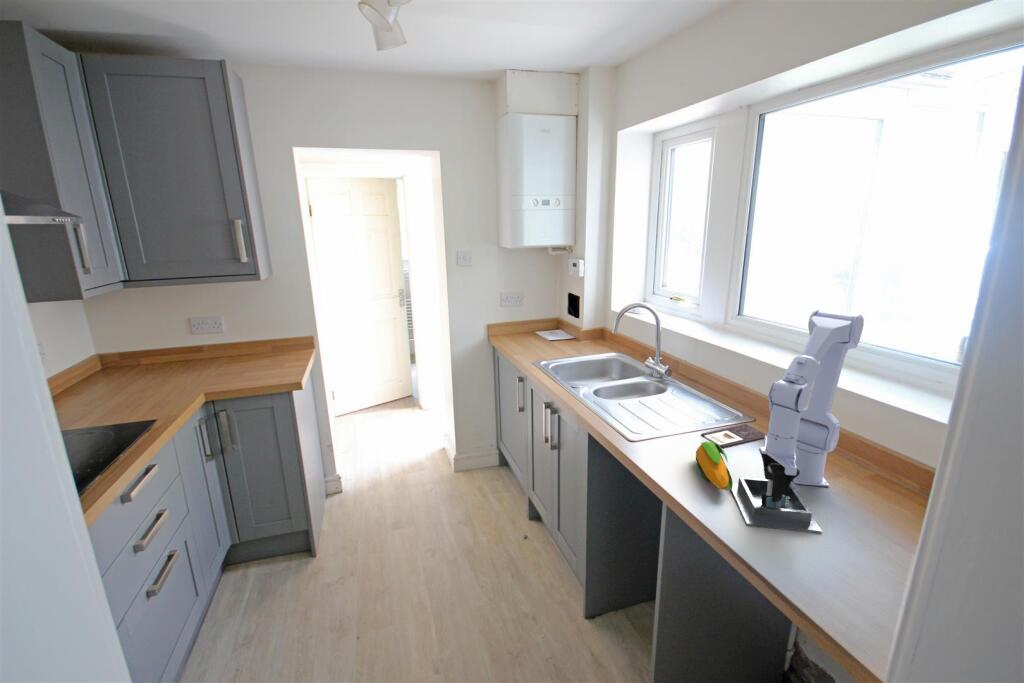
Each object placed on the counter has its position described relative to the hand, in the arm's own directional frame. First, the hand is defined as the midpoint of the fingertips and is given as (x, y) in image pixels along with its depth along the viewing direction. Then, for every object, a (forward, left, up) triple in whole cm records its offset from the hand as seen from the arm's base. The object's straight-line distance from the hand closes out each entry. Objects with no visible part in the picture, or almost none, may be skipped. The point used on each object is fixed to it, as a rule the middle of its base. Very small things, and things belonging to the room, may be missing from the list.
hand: (774, 485), depth 106 cm
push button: (0, +1, -5) cm, 5 cm away
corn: (-11, -10, -6) cm, 16 cm away
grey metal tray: (0, 0, -6) cm, 6 cm away
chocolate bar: (-36, +1, -6) cm, 37 cm away
